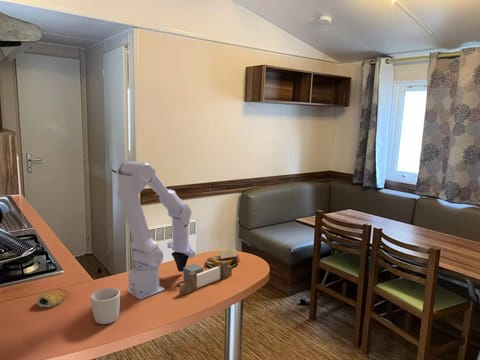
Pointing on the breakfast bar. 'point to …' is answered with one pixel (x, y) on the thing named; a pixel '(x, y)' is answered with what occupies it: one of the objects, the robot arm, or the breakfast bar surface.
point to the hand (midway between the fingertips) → (181, 270)
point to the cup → (105, 305)
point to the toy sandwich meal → (224, 258)
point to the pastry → (52, 298)
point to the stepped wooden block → (192, 278)
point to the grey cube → (191, 270)
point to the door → (208, 276)
